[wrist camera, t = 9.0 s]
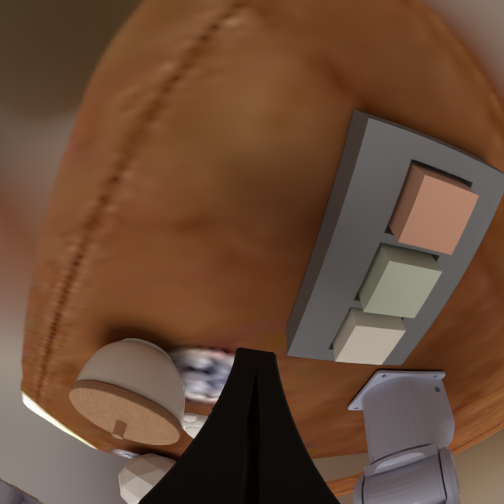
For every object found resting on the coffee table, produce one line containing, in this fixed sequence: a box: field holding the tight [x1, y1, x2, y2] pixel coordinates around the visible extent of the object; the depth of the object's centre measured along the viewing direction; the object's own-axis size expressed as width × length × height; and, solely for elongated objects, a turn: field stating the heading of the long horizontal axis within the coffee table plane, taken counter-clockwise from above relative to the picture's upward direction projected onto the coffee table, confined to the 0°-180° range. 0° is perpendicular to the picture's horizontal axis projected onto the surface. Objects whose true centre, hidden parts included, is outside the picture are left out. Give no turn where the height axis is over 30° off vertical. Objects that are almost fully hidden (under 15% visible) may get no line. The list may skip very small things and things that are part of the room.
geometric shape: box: [119, 453, 176, 504], centre depth 44 cm, size 14×15×15 cm
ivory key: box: [332, 307, 406, 365], centre depth 20 cm, size 4×4×3 cm
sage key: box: [358, 242, 442, 318], centre depth 17 cm, size 4×4×3 cm
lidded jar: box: [69, 338, 185, 445], centre depth 25 cm, size 11×11×9 cm
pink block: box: [388, 160, 479, 255], centre depth 15 cm, size 4×4×3 cm
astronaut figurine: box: [182, 409, 212, 438], centre depth 35 cm, size 9×12×3 cm
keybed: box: [287, 110, 504, 365], centre depth 19 cm, size 10×17×3 cm, turn 171°
